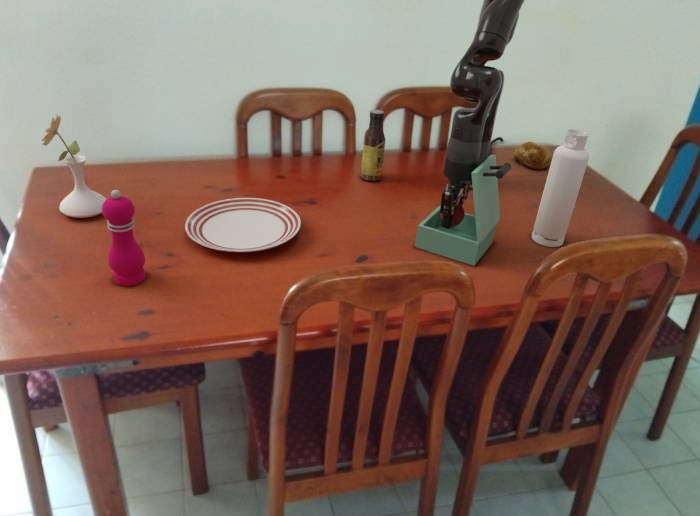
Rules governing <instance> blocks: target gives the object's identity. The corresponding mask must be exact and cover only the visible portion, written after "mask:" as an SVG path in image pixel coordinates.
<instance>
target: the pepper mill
mask: <svg viewBox="0 0 700 516" xmlns="http://www.w3.org/2000/svg"><path fill="white" fill-rule="evenodd" d="M135 211H136V210H135V205H134V203H133V201H132V200H131V198H128V197H126V196H124V195H122V193H121V191H119V190H118V189H113V190H112V191H111V192H110V197H108V198H106V200H105V201H104V203H103V205H102V213H101V214H102V216H103V217H104V219H105V220H107V221H106V225H107V229H108V230H109V231H110V233H111V246H110V249H109V250H108V251H109V252H108V256H107V265H108V267H109V268H110V270H112V276H113V277H112V278H113V281H114V283H115V284H117V285H119V286H123V287H124V286H126V287H131V286H136V285H139V284H140V283H142V282H143V281H144V280H145V279H146V273H145V267H144V266H145V263H146V256H145V253H144V251H143V249H142V247H141V246H140V244H139V243H138V242H137V241H136V238H135V235H134V231H133V230H134V227H135V221H134V218H133V217H134V215H135Z"/></svg>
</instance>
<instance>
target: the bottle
mask: <svg viewBox="0 0 700 516" xmlns="http://www.w3.org/2000/svg"><path fill="white" fill-rule="evenodd" d="M577 134H578V135H577ZM579 134H583V135H579ZM588 137H589V133H588V132H586V131H584V130H581V129H574V128H572V129H568V130H566V134H565V137H564V142H563V144H561V145H559V146H557V147H556V148H555V149H554V151H553V153H552V156H551V162H550V164H549V169H548V173H547V176H546V181H545V184H544V188H543V192H542V195H541V198H540V203H539V206H538V210H537V214H536V218H535V221H534V224H533V229H532V232H531V235H530V237H531V239H532V241H533V242H535V244H539V245H541V246H544V247H549V248H558V247H562V246H563V244H564V242H565V239H566V235H567V232H568V228H569V225H570V222H571V218H572V216H573V212H574V209H575V206H576V202H577V199H578V195H579V192H580V189H581V187H582V182H583V179H584V177H585V172H586V169H587V167H588V163H589V160H590V154H589V151H587V149H586V148H585V147H586V144H587V140H588Z"/></svg>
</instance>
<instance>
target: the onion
mask: <svg viewBox="0 0 700 516" xmlns="http://www.w3.org/2000/svg"><path fill="white" fill-rule="evenodd" d="M455 201H456V200H453V202H455ZM447 209H448V207H447ZM465 213H466V212H465V208H464V207H463V204H462V205H461V203H460V202H459V204H458V206H456V207H455V210H454V214H453V218H452V224H451V227H450V228H452V227H454V226H457V225H459V224H460V223H461V222H462V221H463V219H464V215H465ZM440 218H441V220H442V219H443V214H442V213H440Z"/></svg>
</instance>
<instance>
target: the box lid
mask: <svg viewBox="0 0 700 516" xmlns="http://www.w3.org/2000/svg"><path fill="white" fill-rule="evenodd" d="M511 169H512V164H511V163H509V162H505V163H504V164H502V165H498V164H497V154H493V155H488V158H487V159H486V160H485V161H484V162H483V163H482V164H481V165H480V166H478V167H477V168H476V169H475V170H474V171H473V172H472V185H473V189H472V194H473V196H472V197H473V208H474V209H473V210H474V216H475V222H476V234H477V241H483V240H484V238H485V237H486V236H487V235H488V234H489V232H490V231H491V230H492V229H493V227H494V226H495V225H496V224H498V223H499V221H500V220H501V213H500V212H501V211H500V197H499V182H498V181H499V180H501V179H503V178H504V177H505V176H506V175H507V173H508V172H510V170H511ZM496 226H497V225H496Z"/></svg>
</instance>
